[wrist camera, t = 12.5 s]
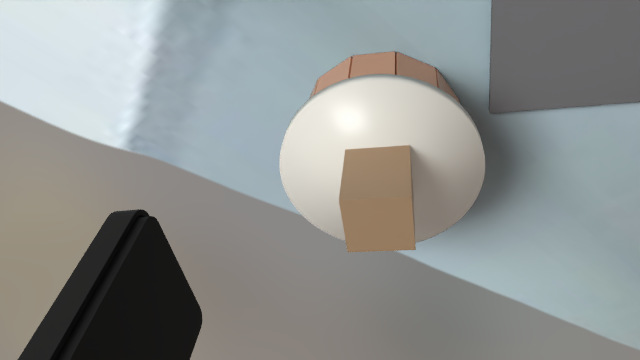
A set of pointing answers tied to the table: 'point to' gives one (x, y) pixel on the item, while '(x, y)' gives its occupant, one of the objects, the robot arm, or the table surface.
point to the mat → (563, 53)
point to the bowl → (383, 70)
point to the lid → (382, 161)
